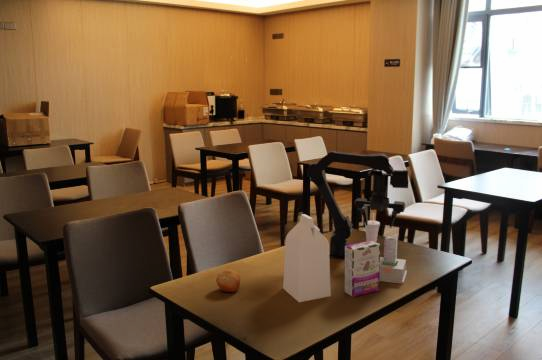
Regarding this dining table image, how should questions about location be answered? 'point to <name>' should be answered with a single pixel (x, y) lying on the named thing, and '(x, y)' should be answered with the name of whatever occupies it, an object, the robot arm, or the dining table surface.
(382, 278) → the stand base
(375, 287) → the candy bar box
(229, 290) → the fruit
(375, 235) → the smoothie
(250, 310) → the dining table surface
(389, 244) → the column
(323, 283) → the milk
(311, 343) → the dining table surface
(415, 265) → the dining table surface
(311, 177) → the robot arm
